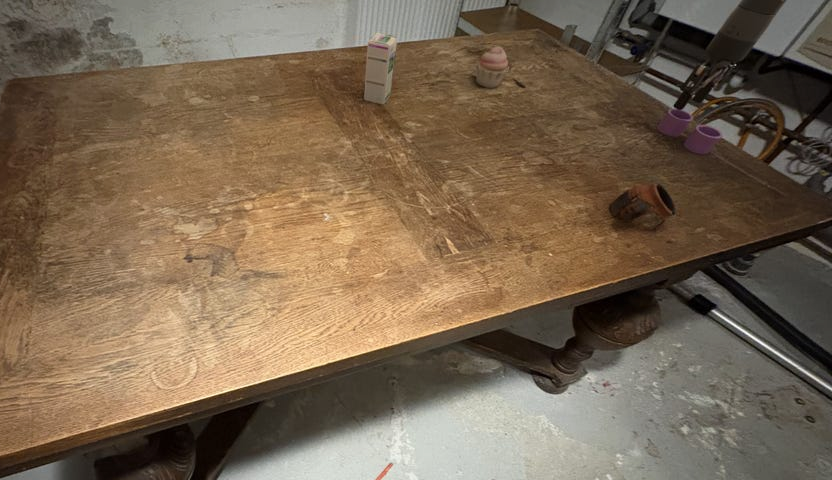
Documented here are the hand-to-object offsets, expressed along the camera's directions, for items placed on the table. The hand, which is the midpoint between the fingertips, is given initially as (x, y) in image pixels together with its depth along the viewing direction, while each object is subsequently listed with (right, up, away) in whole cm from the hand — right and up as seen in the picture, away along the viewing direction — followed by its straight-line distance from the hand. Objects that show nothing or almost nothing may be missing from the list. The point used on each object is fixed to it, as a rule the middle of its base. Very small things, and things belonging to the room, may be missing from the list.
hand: (687, 104), depth 101 cm
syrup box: (-76, +5, +7) cm, 77 cm away
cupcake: (-44, +13, +17) cm, 49 cm away
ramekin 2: (+3, -10, +1) cm, 11 cm away
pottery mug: (-26, -31, -18) cm, 44 cm away
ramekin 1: (0, -4, +5) cm, 7 cm away
